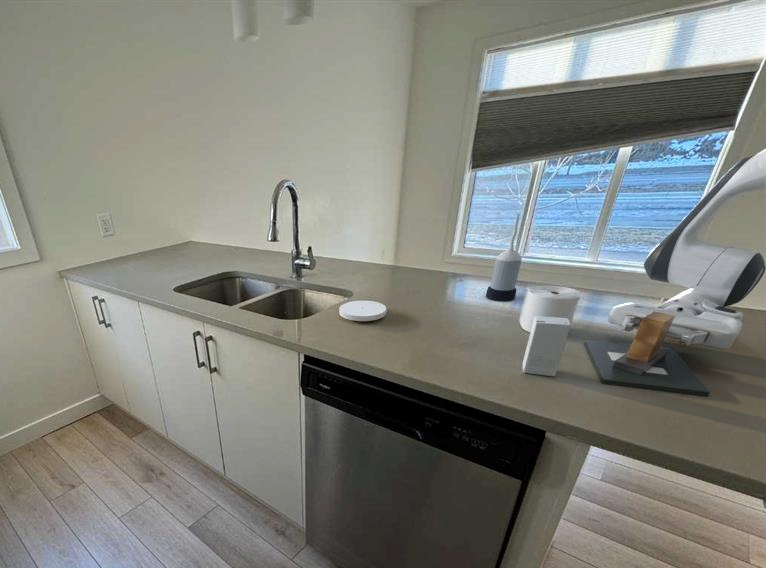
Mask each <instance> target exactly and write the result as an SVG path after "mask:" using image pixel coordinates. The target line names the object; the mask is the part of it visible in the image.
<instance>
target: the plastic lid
mask: <svg viewBox="0 0 766 568" xmlns="http://www.w3.org/2000/svg"><path fill="white" fill-rule="evenodd" d="M338 314H339V316H340V317H342V318H344V319H346V320H349V321H355V322H370V321H376V320H379V319H382V318H384V317H385V316H386V315H387V306H386V305H385V304H383V303H381V302H378V301H373V300H354V301H353V300H352V301H347V302H345V303H343V304H341V305H340V306H339V311H338Z"/></svg>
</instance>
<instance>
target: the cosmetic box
mask: <svg viewBox="0 0 766 568" xmlns="http://www.w3.org/2000/svg"><path fill="white" fill-rule="evenodd" d="M571 328H572V323H571V324H570V322H569V319H568V318H556V317H541V316H535V317H534V321H533V324H532V329H531V333H530V332H529V337H528V341H527V343H526V344H527V345H526V348H525V352H524V356H523V360H522V373H523V374H528V375H529V374H530V375H538V376H547V377H556V376H557V372H558V369H559V367H560V362H561V360H562V356H563V353H564V350H565V346H566V344H567V341H568V337H569V332H570V330H571Z"/></svg>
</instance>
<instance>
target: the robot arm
mask: <svg viewBox="0 0 766 568" xmlns="http://www.w3.org/2000/svg"><path fill="white" fill-rule="evenodd" d="M760 190H766V148H764V149H763V150H761V151H760V152H757V154H754V155H750V156H747V157H744V158H742V159H741V160H739V161H738V162H737V163H736V164H734V165H733V166H732V167H731V168H730V169H728V171H727V172H726V173H725V174H724V175H722V177H721V178H720V179H719V180H718V181H716V183H715V184H714V185H713V186H712V187H711V188H710V189H709V190H708V191H707V193H706V194H704V196H702V198H701V199H700V200H699V201H698V202H697V204H695V206H694V207H692V209H691V210H690V211H689V212H688V213H687V214H686V216H684V217H683V219H682V220H681V221H680V222H679V223H678V224H677V226H675V228H674V229H672V231H671V232H670V233H669V234H667V236H665V238H664V239H663V240H662V241H661V242H660V243H659V244H657V245H656V246H654V248H653V249H652V250H651V251H650V252H649V254H648V255H647V256H646V258H645V261H644V263H643V268H644V271H645V273H646V274H647V276H648V278H649V279H650V280H651V281H652V280H653V281H656V282H657V281H658V282H663V283H667V284H674V285H677V286H681V287H684V288H688V289H686V290H684V291H681V292H680V293H678V294H677V295H675V296H673V297H672V298H670V299H668V300H666V301H664V302H663V303H661V304H660V305H658V306H653V305H648V304H643V303H637V302H626V303H622V304H619V305H616V306H614V307H612V308H611V310H610V312H609V315H608V317H607V322H608V323H609V324H611V325H615V326H621V330H622V331H625V332H629V333H630V332H631V331H633V330H637V331H638V328H639V326H640V324H641V321H642V319H643V317H645V316H646V315H648V314H650V313H651V312H653V311H655V312H660V313H665V314H670V315H675V318H674V320H673V322H672V324H671V326H670V328H669V330H668V333H667V335H666V337H667V338H673V339H676V340H679V341H678V344H680V345H684V346H690V345H697V344H698V345H703V346H707V347H712V348H716V349H720V350H728V349H730V348H731V347H732V346H733V344H734V342H735V341H736V339H737V337H738V335H739V334H740V332H741V330H742V327H743V322H742V320H743V318H744V313H743V312H741V311H738V310H735V309H732V308H729V307H730V306H733V305H735V304H739V303H740V302H741V301H743V300H744V299H745V298H746V297H747V296H748V295H749V294H750V293H751V292H752V291H753V290H754V289H755V288H756V286H757V285H758V284H759V282H760V281H761V280H762V278H763V276H764V274H765V272H766V262H765V259H764V257H763V255H762V254H761V253H760V252H757V251H752V250H749V249H743V248H741V247H735V246H728V245H723V244H718V243H715V242H709V241H705V240H701V239H699V238H698V236H699V235H700V234H701V233H702V231H704V230H705V228H706V227H707V226H708V225H710V223H711V222H712V221H713V220H714V219H715V218H716V217H717V216H718V215H719V214H720V213H721V212H722V211H723V209H725V207H727V206H728V204H730V203H731V202H733V200H735V199H737V198H739V197H741V196H743V195H745V194H749V193H752V192H755V191H756V192H757V191H760Z"/></svg>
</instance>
